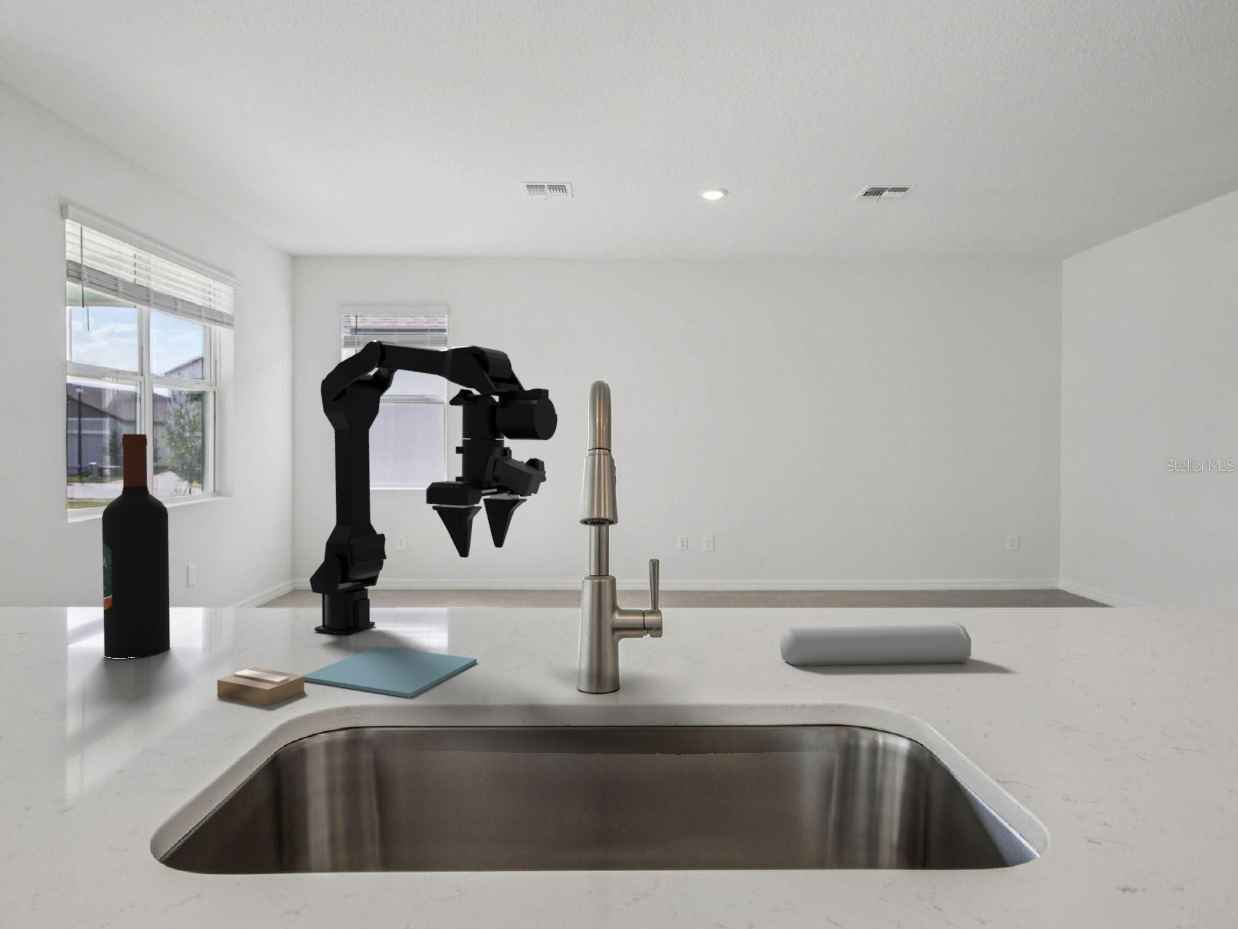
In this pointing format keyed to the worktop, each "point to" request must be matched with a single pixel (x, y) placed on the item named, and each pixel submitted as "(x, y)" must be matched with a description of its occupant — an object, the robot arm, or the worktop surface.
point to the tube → (876, 645)
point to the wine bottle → (135, 563)
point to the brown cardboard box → (260, 686)
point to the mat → (391, 671)
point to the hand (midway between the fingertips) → (482, 552)
